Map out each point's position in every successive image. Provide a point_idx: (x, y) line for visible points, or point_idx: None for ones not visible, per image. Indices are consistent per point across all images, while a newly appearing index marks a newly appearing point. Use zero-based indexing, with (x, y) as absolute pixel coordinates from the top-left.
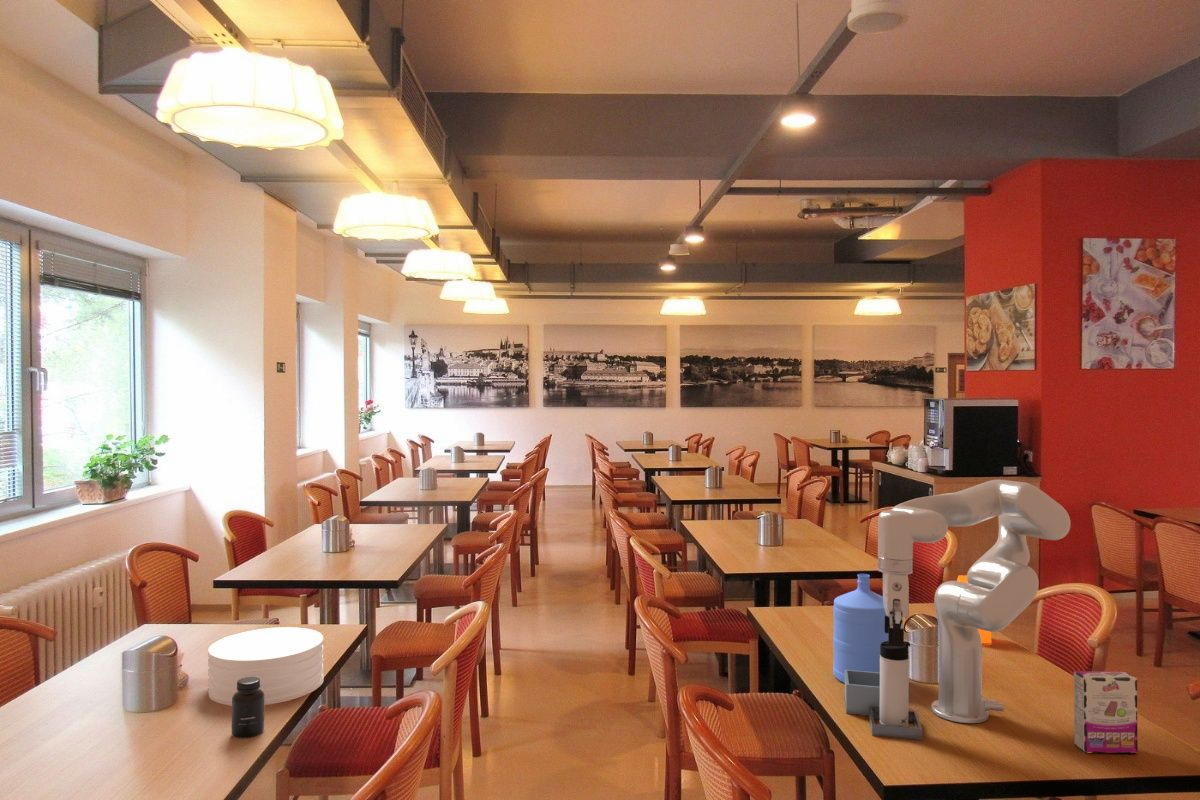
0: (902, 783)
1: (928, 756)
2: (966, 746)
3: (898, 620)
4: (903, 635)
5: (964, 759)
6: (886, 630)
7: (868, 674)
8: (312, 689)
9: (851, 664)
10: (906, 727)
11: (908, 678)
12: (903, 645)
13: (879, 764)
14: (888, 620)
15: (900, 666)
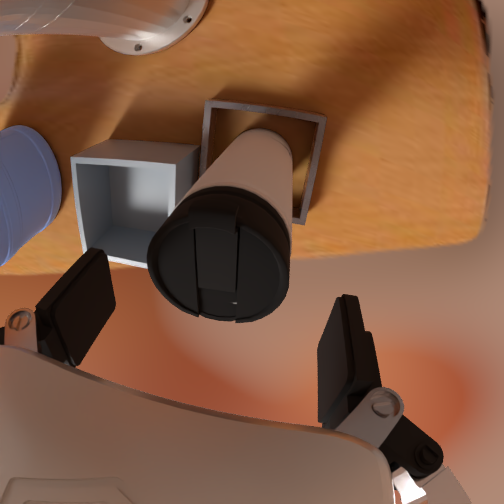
0: (482, 220)
1: (401, 131)
2: (345, 28)
3: (440, 471)
4: (366, 343)
5: (411, 63)
6: (109, 310)
7: (83, 204)
8: None
9: (35, 223)
10: (318, 152)
11: (260, 162)
12: (357, 297)
13: (425, 235)
14: (80, 342)
15: (290, 223)
